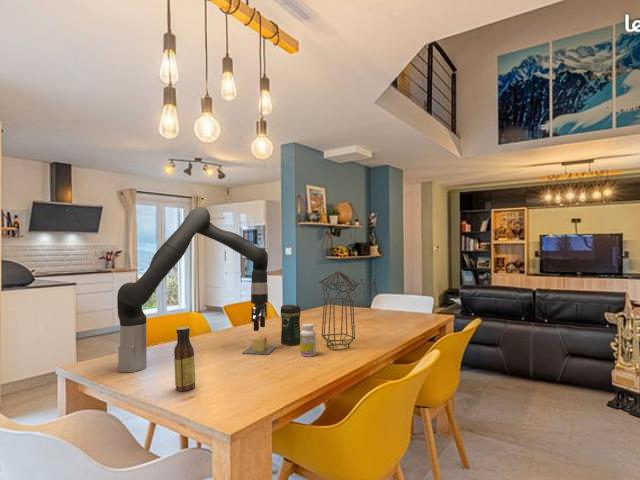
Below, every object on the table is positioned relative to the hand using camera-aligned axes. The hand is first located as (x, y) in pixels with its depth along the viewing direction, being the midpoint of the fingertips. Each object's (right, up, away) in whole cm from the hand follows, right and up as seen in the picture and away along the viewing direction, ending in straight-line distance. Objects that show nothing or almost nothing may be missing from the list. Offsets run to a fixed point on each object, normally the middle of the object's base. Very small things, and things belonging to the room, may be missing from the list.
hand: (259, 328), depth 167 cm
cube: (0, -9, 0) cm, 9 cm away
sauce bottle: (-17, -9, -45) cm, 49 cm away
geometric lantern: (+36, -10, +4) cm, 38 cm away
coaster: (0, -10, 0) cm, 10 cm away
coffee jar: (+13, -10, +12) cm, 21 cm away
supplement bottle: (+22, -10, -7) cm, 25 cm away
